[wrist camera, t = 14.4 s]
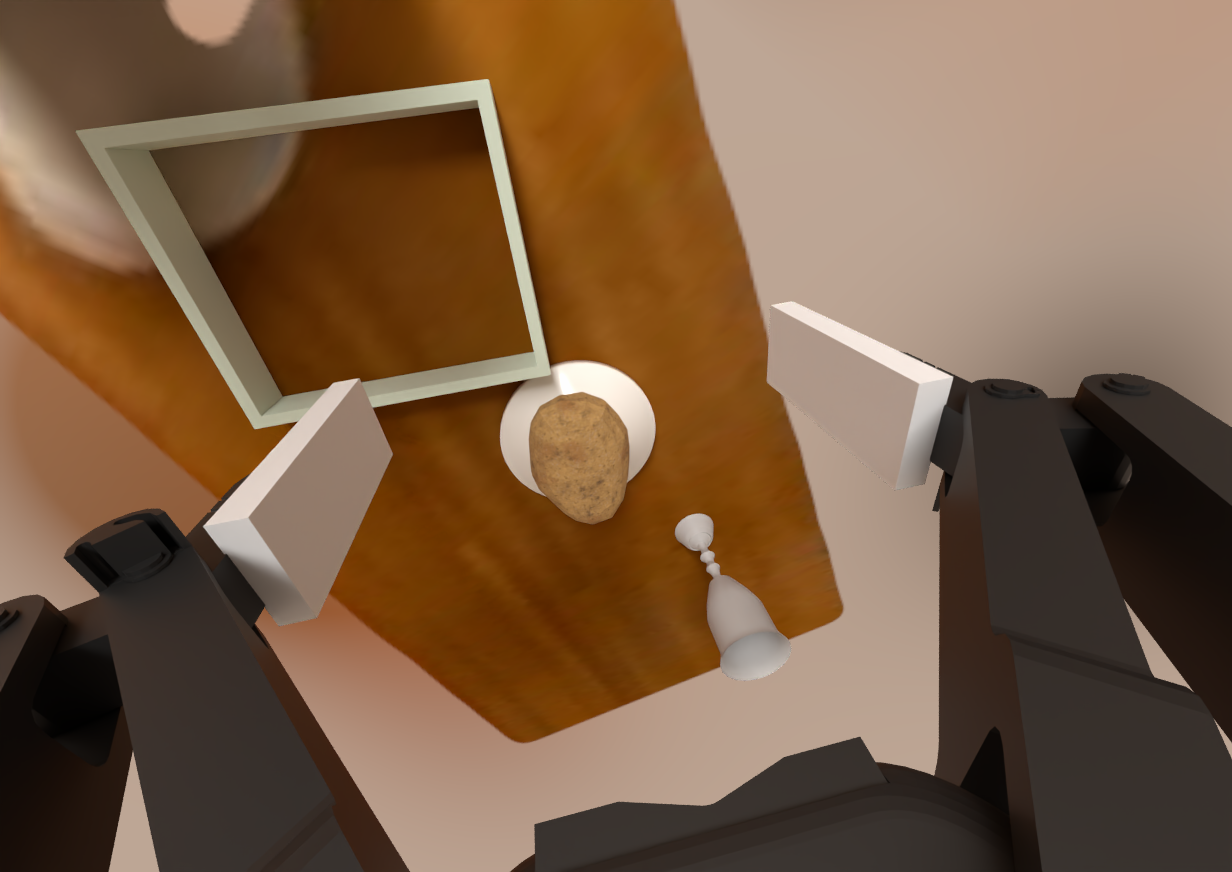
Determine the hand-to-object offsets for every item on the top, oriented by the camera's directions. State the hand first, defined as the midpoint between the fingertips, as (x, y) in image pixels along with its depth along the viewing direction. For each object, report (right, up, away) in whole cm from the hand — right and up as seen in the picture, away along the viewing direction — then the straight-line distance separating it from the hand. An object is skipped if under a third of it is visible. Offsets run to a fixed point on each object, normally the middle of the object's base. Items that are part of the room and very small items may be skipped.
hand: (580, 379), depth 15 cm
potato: (-3, -2, +33) cm, 33 cm away
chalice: (+11, -13, +44) cm, 47 cm away
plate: (-3, -1, +34) cm, 34 cm away
